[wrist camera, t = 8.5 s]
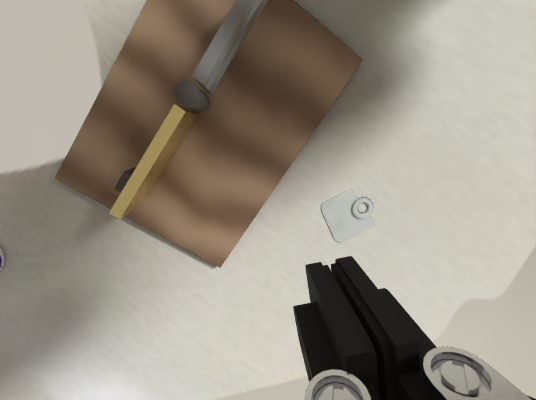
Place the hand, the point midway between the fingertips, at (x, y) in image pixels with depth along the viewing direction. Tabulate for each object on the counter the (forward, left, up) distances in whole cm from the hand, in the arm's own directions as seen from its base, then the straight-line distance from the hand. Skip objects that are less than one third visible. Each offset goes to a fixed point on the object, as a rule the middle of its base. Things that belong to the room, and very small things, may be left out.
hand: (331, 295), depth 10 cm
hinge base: (-2, -9, -22) cm, 24 cm away
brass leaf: (+4, -11, -21) cm, 24 cm away
